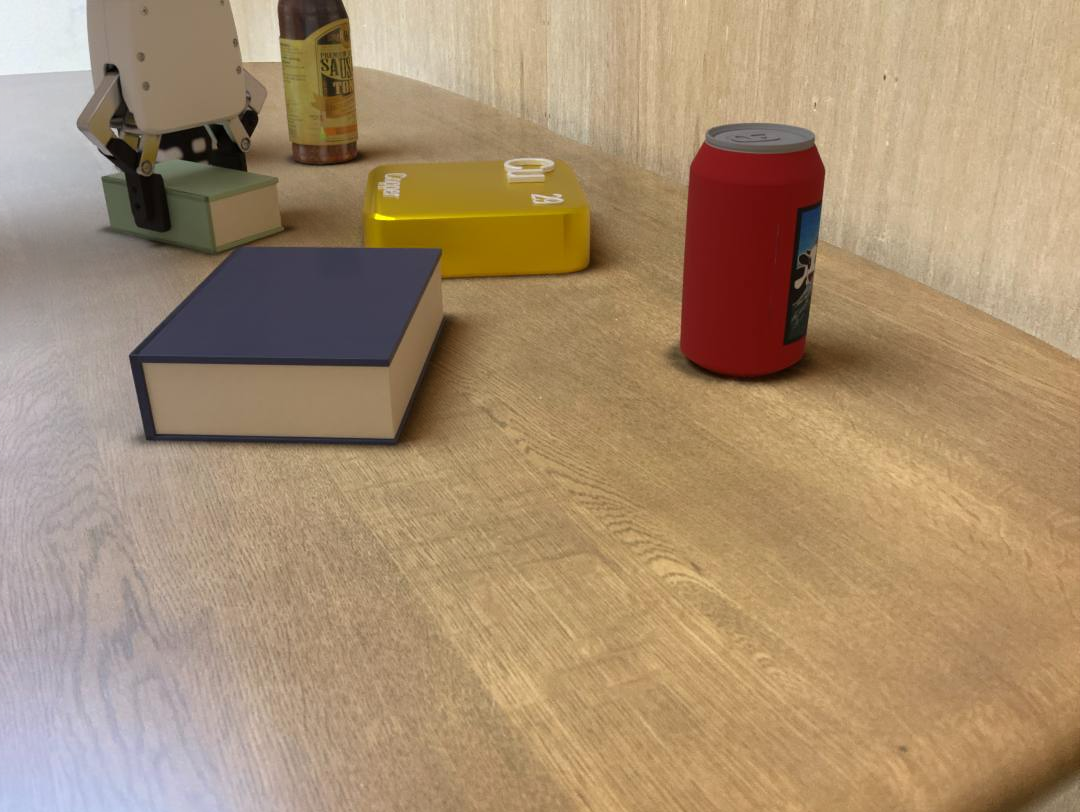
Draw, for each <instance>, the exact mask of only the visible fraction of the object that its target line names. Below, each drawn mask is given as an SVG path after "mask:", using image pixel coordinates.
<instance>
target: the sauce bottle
mask: <svg viewBox="0 0 1080 812" xmlns="http://www.w3.org/2000/svg"><path fill="white" fill-rule="evenodd" d="M276 7H277V11H276V12H277V19H278V29H279V36H278V40H279V50H280V62H281V72H282V83H283V91H284V100H285V101H284V102H285V110H286V112H285V113H286V120H287V121H286V122H287V130H288V139H289V140H288V141H289V142H291V151H292V152H291V153H292V157H293V159H294V161H295V162H296V163H300V164H302V165H303V164H304V165H316V166H317V165H318V166H324V165H334V164H341V163H347V162H350V161H353V160H354V159H355V158H356V157H357V154H358V140H359V130H358V118H357V115H358V114H357V105H356V92H355V91H356V89H355V78H354V63H353V52H352V38H351V25H350V24H351V23H350V17H349V15H348V13H347V10H346V9H347V8H346V7H345V5H344V2H343V0H278V1H277V6H276Z"/></svg>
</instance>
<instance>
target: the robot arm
mask: <svg viewBox="0 0 1080 812" xmlns="http://www.w3.org/2000/svg"><path fill="white" fill-rule="evenodd" d="M85 10H86V29H87V41H88V43H87V45H88V52H89V62H90V63H89V64H90V71H91V77H92V86H93V91H94V93H93V95H92V96H91V97H90V99H89V101H88V102H87V104H86V105H85V106H84V108H83V110H82V111H81V113H80V114H79V116H78V117H77V120H76V124H75V125H76V128H77V129H78V130H79V132H80V133H81V134H82V135H83V136H84V137H86V139H88V141H89V142H90V143H92V144H93V146H95V147H96V148H97V150H98V152H99V153H100V154H101V155H102V156H103V157H105V158H106V159H107V160H108V161H110V162H111V163H112V164H113V165H114V168H115V169H116V171H117V172H124V173H125V178H126V184H127V189H128V195H129V200H130V206H131V211H132V214H133V216H134V221H135V224H136V225H137V227H139V228H143V229H147V230H152V231H156V232H161V233H164V232H167V231H169V230H170V228H171V222H170V216H169V210H168V204H167V198H166V192H165V186H164V180H163V177H162V175H161V174H156V173H154V172H153V171H154V168H155V163H156V159H157V154H158V149H159V145H160V140H161V136H162V134H165V133H170V132H175V131H180V130H185V129H189V128H194V127H199V126H203V125H204V126H205V128H206V130H207V131H208V133H209V135H210V136H211V138H212V140H213V142H214V143H215V145H216V149H212V150H210V152H211V154H210V158H211V165H212V166H217V167H223V168H228V169H234V170H239V171H245V172H248V165H247V158H246V153H249V152H250V150H251V149H252V139H251V138H252V136H253V134H254V132H255V130H256V128H257V127H258V124H259V115H260V113H261V111H262V108H263V106H264V104H265V102H266V99H267V97H268V90H267V88H266V86H265V85H263V84H262V82H260V81H259V80H258V79H257V78H256V77H255V76H253V75H252V74H251V73H250V72H249V71H248V70H246V69H245V68H244V66H243V65H244V64H243V58H242V51H241V47H240V42H239V36H238V32H237V27H236V22H235V18H234V17H235V16H234V15H233V14H234V13H233V9H232V6H231V2H230V0H86V9H85ZM113 129H115V130H117V129H121V131H120V136H118V135H116V134H115V132H114V130H113ZM138 137H139V138H141V140H140V144H139V149H138V152H137V151H136V150H137V145H138V141H139V138H138Z"/></svg>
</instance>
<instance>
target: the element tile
mask: <svg viewBox="0 0 1080 812" xmlns="http://www.w3.org/2000/svg"><path fill="white" fill-rule="evenodd" d="M364 193H365V194H364V201H363V205H362V210H361V219H362V220H361V221H362V231H363V232H362V233H363V244H364V248H441V249H442V256H441V258H440V266H441V279H455V278H456V279H457V278H481V277H482V278H483V277H486V278H487V277H507V276H509V277H511V276H535V275H537V276H539V275H559V274H562V275H563V274H571V273H576V272H581V271H582V270H586V269H587V267H588V266H589V264H590V257H591V256H590V255H591V204H590V202H589V200H588V198H587V196H586V193H585V191H584V189H583V187H582V186H581V184H580V182H579V179H578V178H577V175H576V173H575V172H574V169H573V167H572V166H571V165H570V164H568V163H567V162H565V161H564V160H563V159H555V158H552V159H551V158H541V157H521V158H515V159H514V158H513V159H507V160H506V159H505V160H476V161H472V160H471V161H444V162H443V161H442V162H412V163H411V162H410V163H386V164H379V165H377V166H376V167H374V168H373V169H371V170H370V171H369V172H368V174H367V181H366V186H365V192H364Z"/></svg>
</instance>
